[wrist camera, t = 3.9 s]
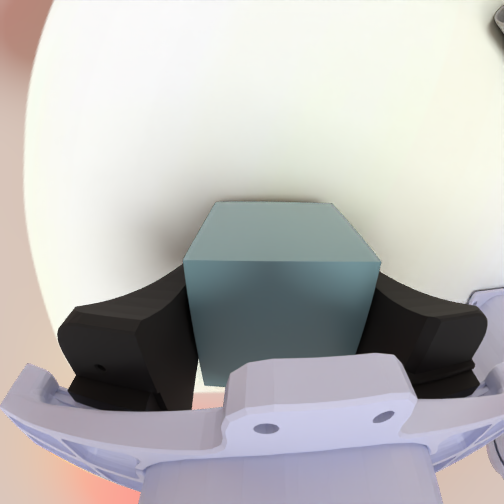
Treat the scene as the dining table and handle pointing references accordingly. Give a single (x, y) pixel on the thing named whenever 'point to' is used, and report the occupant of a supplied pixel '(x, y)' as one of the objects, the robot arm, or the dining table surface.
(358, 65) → the dining table surface
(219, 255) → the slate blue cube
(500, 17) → the ceramic mug
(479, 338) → the robot arm
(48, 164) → the dining table surface
